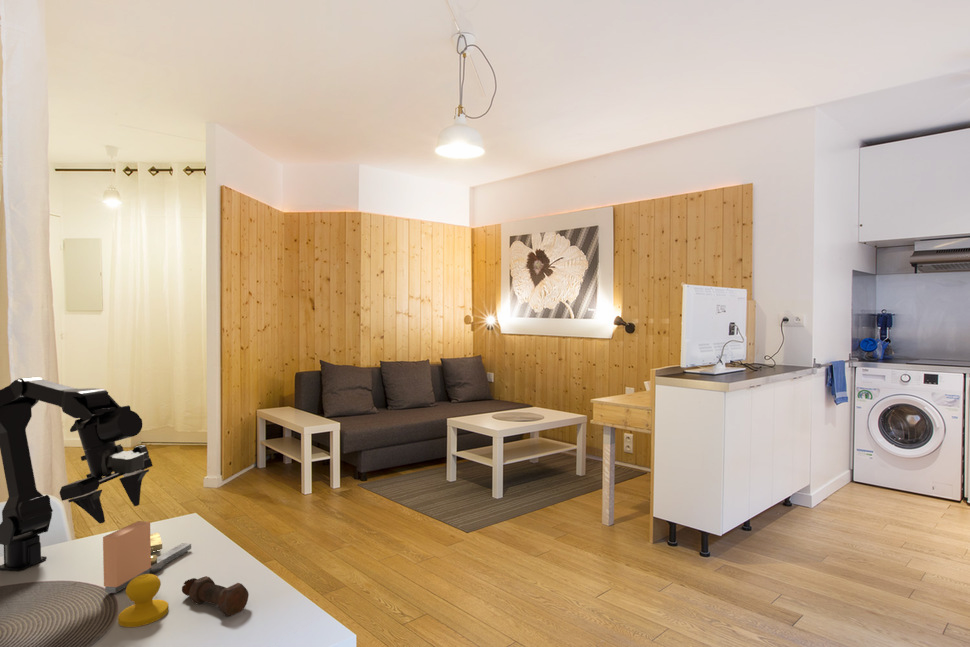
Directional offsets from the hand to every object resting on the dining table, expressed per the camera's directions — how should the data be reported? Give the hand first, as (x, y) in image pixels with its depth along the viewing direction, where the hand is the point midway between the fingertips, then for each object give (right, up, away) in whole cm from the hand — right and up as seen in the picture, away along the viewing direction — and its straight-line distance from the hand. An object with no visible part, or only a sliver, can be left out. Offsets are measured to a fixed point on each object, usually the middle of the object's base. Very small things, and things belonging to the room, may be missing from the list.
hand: (120, 514), depth 121 cm
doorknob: (+16, -13, -17) cm, 27 cm away
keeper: (0, -13, +10) cm, 16 cm away
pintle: (+6, -11, +2) cm, 13 cm away
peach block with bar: (+6, -13, +2) cm, 15 cm away
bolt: (+27, -13, -13) cm, 33 cm away
